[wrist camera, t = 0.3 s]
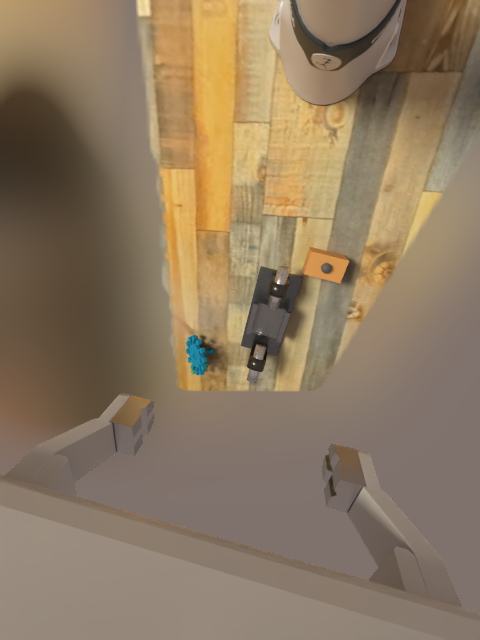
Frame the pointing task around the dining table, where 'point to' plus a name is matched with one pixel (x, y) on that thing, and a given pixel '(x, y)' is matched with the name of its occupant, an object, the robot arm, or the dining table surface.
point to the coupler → (325, 265)
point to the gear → (197, 355)
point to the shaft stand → (269, 315)
